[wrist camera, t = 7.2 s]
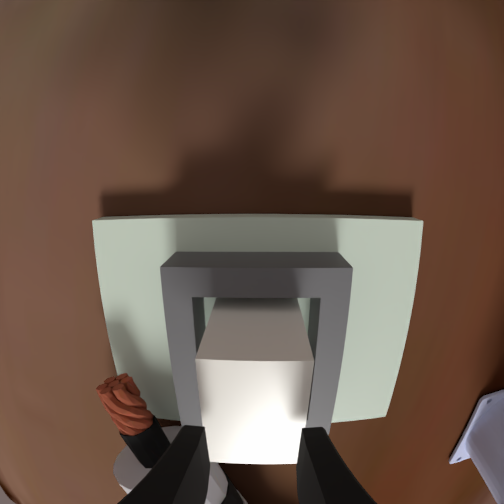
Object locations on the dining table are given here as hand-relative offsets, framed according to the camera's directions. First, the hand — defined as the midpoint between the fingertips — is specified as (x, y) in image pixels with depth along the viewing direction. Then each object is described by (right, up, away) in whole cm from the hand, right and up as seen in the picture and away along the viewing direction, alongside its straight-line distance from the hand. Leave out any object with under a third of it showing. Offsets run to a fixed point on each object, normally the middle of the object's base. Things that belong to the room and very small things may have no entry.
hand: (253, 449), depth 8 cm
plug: (0, +2, +7) cm, 7 cm away
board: (0, +2, +8) cm, 8 cm away
